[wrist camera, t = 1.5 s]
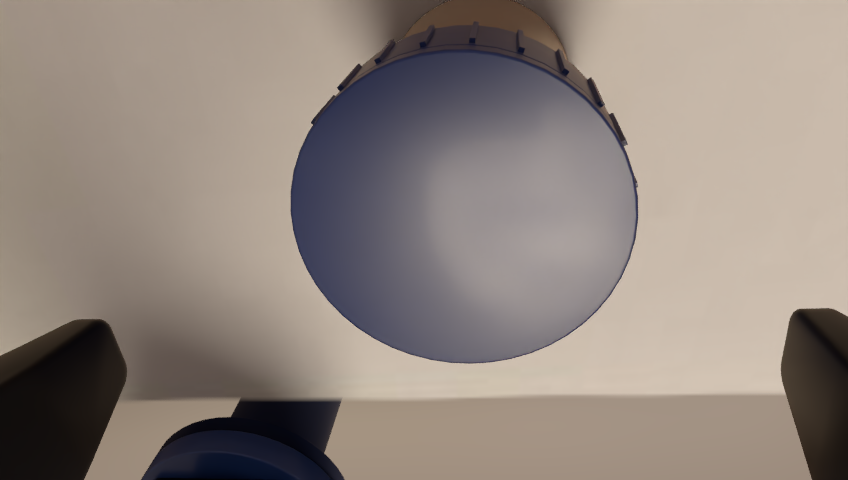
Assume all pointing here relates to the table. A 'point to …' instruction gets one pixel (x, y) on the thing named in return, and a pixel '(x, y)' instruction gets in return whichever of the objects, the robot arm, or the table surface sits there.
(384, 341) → the lid
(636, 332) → the table surface
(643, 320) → the table surface
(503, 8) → the jar
